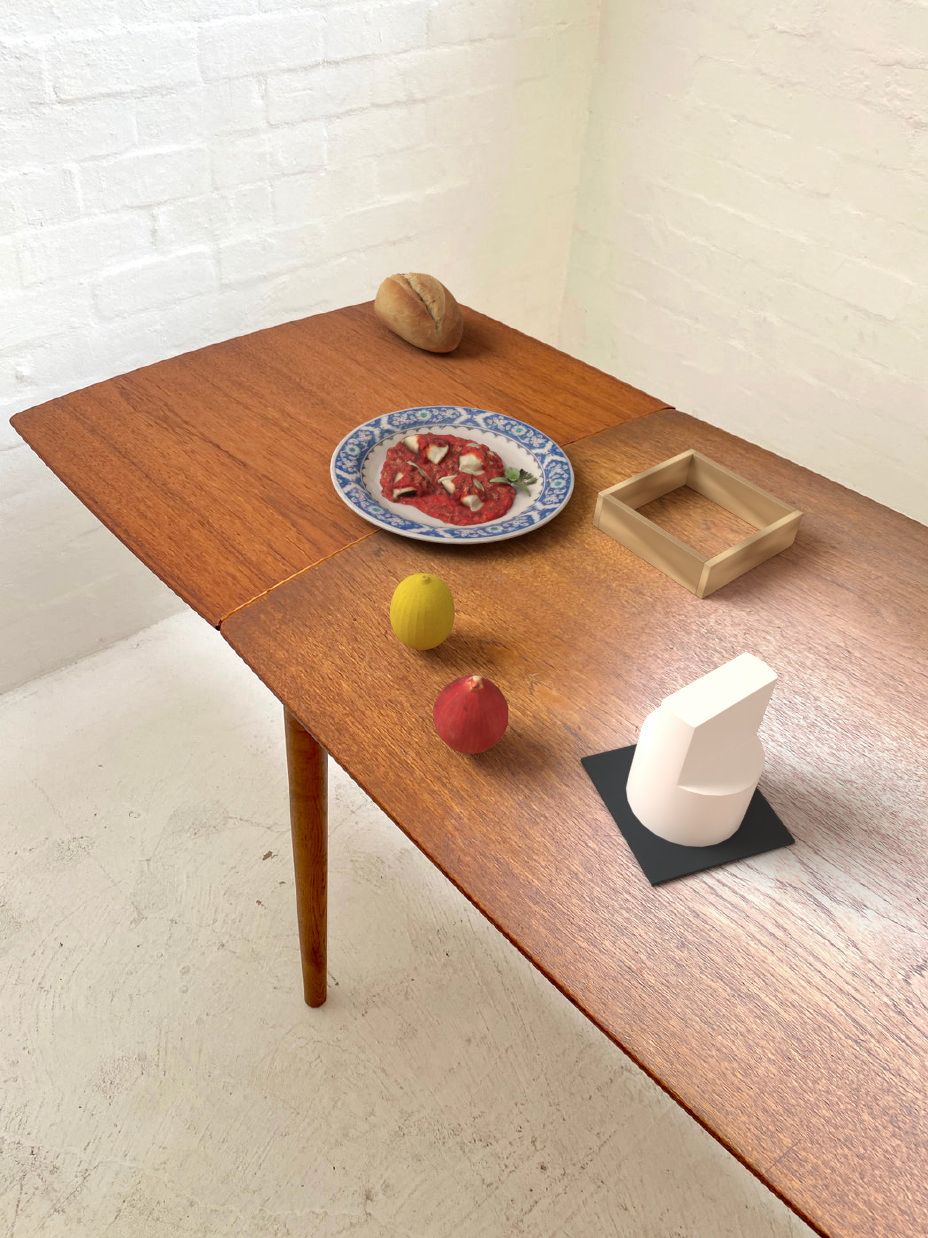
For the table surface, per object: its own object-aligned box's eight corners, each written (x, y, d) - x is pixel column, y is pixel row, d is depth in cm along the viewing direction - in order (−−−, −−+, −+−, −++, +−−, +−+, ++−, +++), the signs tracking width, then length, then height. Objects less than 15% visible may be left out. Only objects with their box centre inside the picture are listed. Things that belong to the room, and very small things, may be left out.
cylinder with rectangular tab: (686, 867, 70) (726, 759, 62) (601, 784, 75) (628, 674, 67) (768, 810, 74) (816, 701, 66) (683, 735, 80) (717, 626, 72)
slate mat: (711, 727, 81) (712, 724, 81) (794, 843, 73) (795, 840, 72) (580, 760, 77) (580, 757, 77) (651, 887, 69) (652, 883, 69)
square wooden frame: (684, 479, 109) (692, 448, 106) (792, 544, 101) (804, 513, 98) (592, 524, 101) (598, 492, 99) (701, 599, 93) (711, 566, 91)
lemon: (381, 661, 84) (381, 590, 79) (399, 620, 89) (401, 550, 83) (443, 674, 84) (448, 604, 78) (459, 632, 88) (464, 562, 82)
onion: (416, 744, 78) (419, 673, 72) (467, 708, 81) (474, 638, 76) (468, 787, 75) (474, 716, 69) (519, 749, 78) (529, 678, 73)
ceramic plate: (288, 521, 98) (287, 497, 96) (385, 403, 117) (386, 380, 115) (534, 586, 93) (538, 561, 91) (595, 451, 112) (599, 428, 110)
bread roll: (419, 368, 124) (421, 308, 119) (355, 323, 132) (354, 265, 127) (479, 350, 129) (483, 291, 123) (413, 307, 137) (415, 251, 132)
